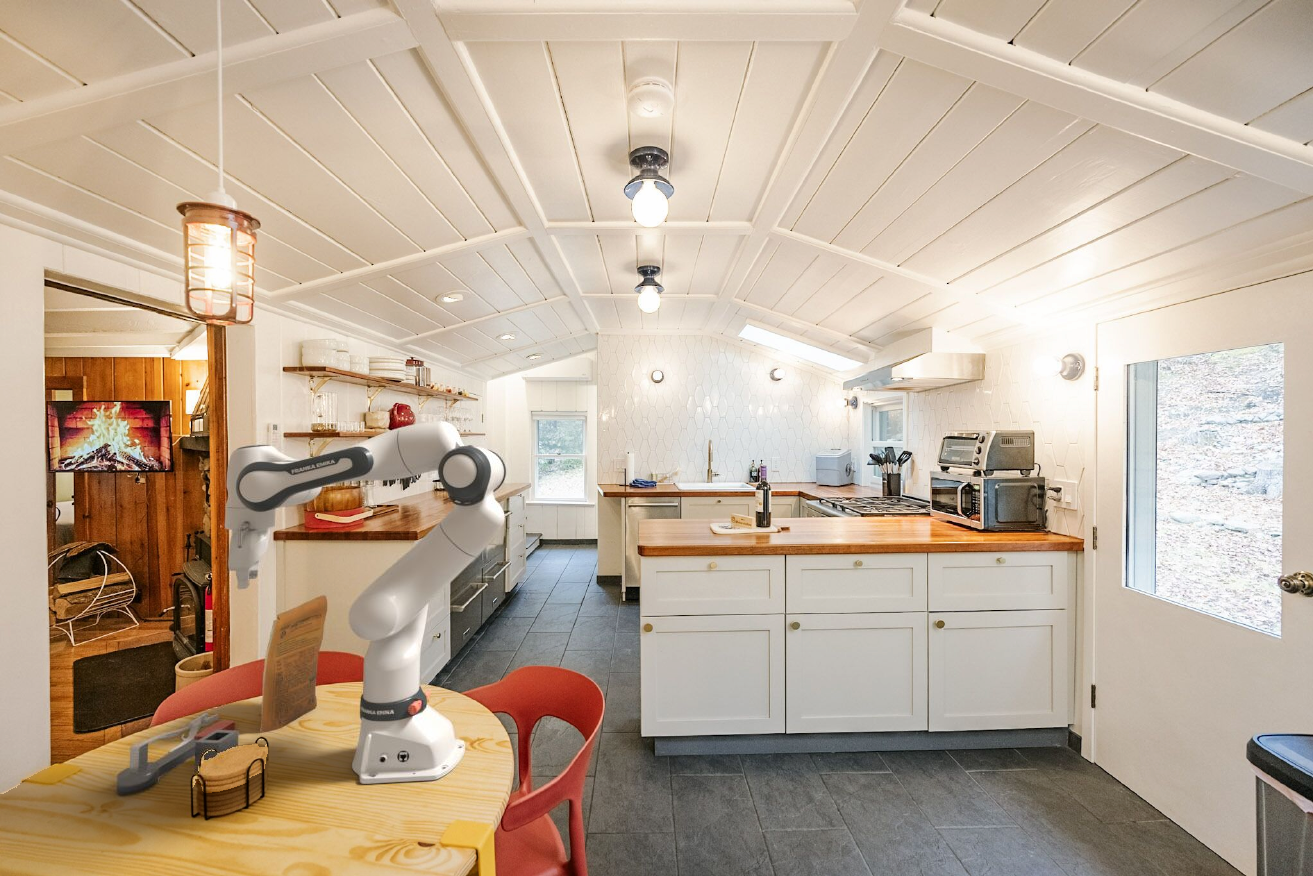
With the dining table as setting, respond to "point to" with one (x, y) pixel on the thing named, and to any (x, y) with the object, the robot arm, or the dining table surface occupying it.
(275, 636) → the pancake mix bag
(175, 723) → the dining table surface
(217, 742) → the socket
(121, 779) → the ratchet
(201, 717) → the pliers
